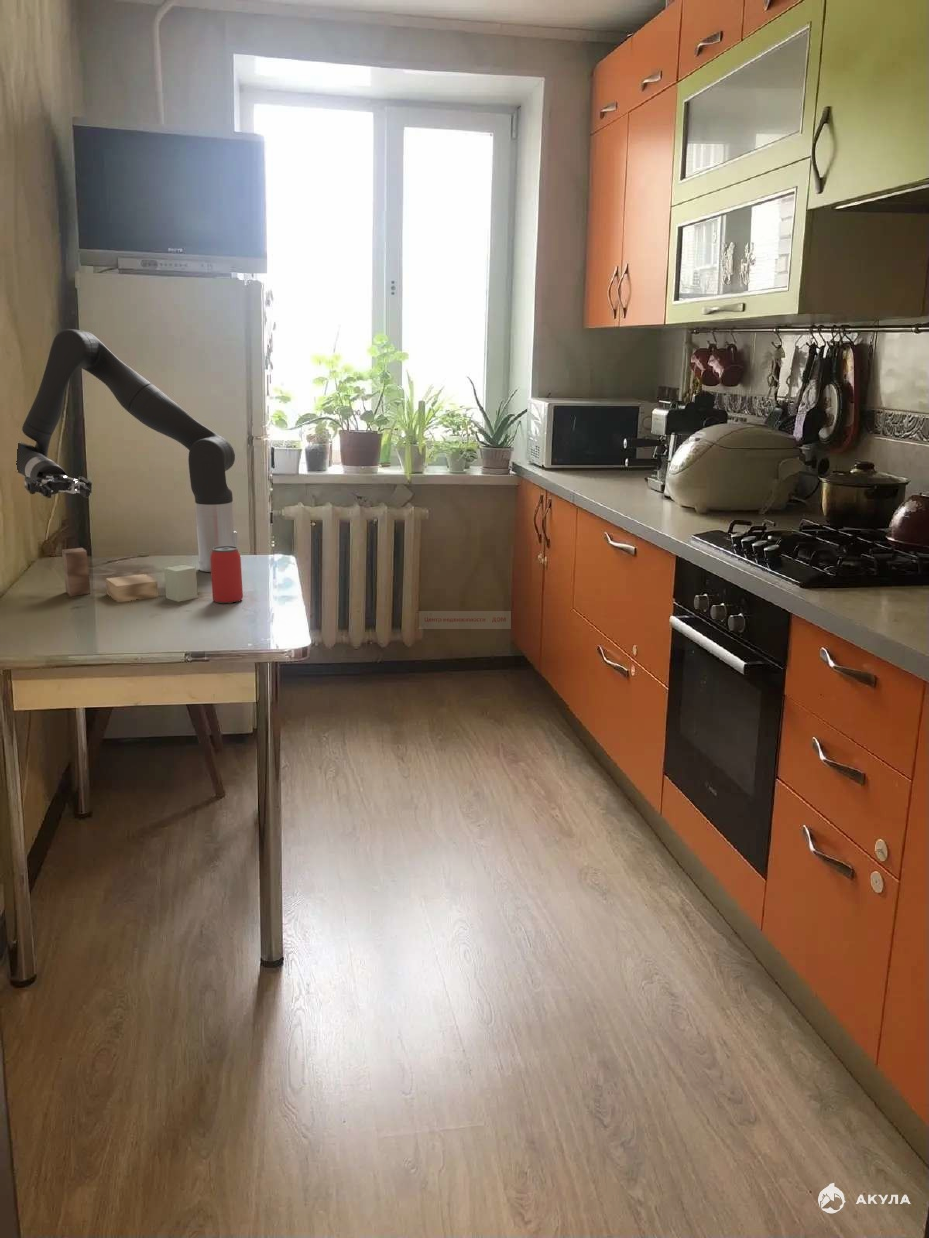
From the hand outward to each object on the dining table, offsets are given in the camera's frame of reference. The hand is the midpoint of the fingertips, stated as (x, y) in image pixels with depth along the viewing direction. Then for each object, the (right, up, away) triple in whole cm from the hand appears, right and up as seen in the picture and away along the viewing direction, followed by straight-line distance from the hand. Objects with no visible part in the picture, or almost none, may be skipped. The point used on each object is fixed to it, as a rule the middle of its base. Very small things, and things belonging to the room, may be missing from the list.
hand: (68, 493), depth 233 cm
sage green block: (+28, -24, -5) cm, 37 cm away
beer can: (+39, -25, -8) cm, 47 cm away
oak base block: (+16, -24, -3) cm, 29 cm away
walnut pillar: (+3, -23, -1) cm, 23 cm away
